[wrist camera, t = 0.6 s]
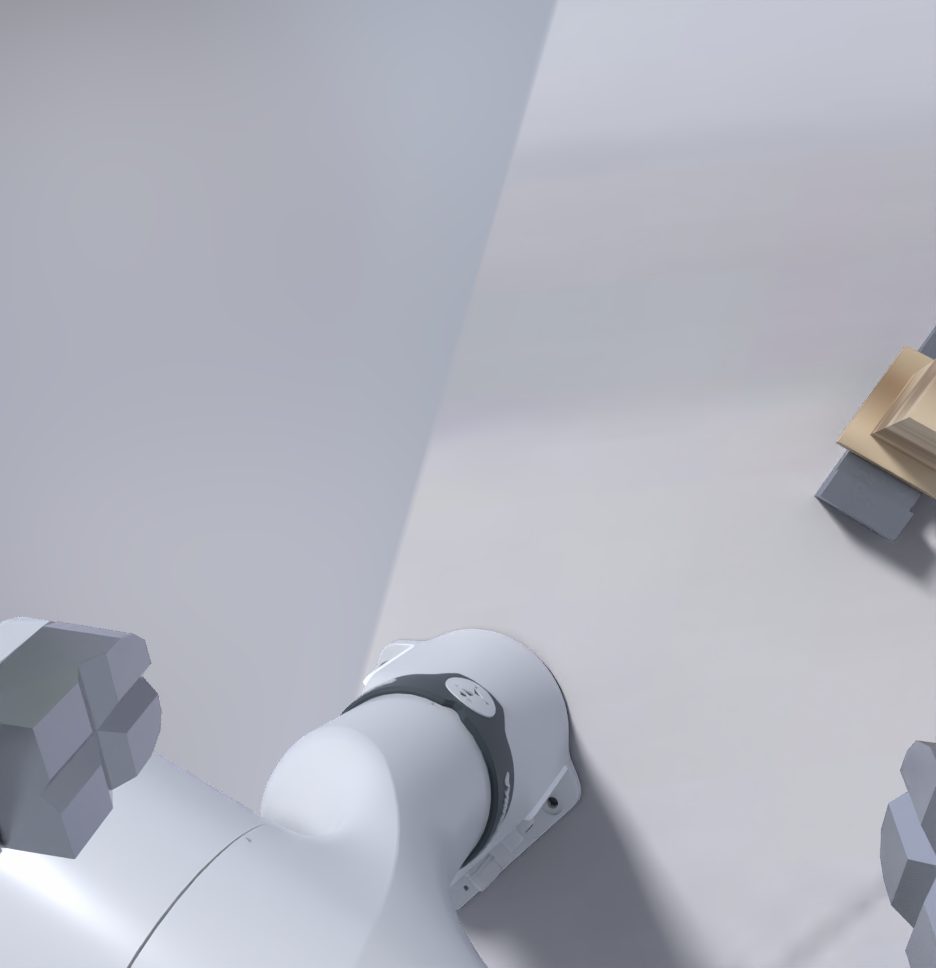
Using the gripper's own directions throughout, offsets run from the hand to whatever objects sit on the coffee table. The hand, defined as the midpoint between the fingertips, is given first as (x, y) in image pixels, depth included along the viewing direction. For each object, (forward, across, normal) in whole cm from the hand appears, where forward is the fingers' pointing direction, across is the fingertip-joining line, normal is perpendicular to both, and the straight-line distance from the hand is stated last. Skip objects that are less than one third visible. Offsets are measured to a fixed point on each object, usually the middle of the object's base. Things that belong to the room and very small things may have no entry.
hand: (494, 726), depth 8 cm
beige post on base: (+44, +20, -12) cm, 50 cm away
